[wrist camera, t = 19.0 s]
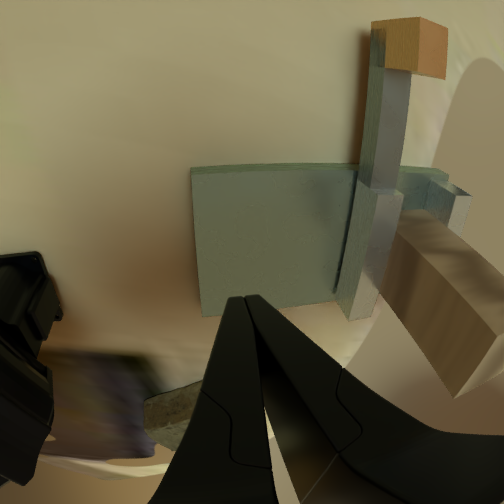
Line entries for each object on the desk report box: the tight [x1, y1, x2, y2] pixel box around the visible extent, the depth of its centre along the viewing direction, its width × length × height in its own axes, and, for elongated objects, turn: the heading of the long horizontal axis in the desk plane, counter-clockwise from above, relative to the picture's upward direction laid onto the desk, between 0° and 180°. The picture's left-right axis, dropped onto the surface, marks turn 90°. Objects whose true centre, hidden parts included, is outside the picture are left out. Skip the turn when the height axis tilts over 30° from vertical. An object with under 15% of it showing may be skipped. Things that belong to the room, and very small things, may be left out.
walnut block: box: [379, 209, 504, 398], centre depth 18 cm, size 5×5×13 cm
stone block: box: [144, 381, 202, 451], centre depth 30 cm, size 6×12×5 cm, turn 113°
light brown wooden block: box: [335, 17, 448, 321], centre depth 18 cm, size 2×20×5 cm, turn 178°
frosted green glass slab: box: [191, 163, 472, 317], centre depth 22 cm, size 20×11×4 cm, turn 88°
